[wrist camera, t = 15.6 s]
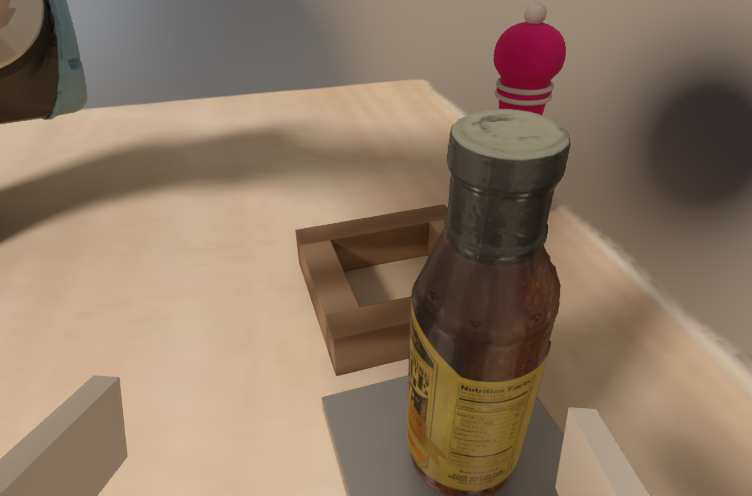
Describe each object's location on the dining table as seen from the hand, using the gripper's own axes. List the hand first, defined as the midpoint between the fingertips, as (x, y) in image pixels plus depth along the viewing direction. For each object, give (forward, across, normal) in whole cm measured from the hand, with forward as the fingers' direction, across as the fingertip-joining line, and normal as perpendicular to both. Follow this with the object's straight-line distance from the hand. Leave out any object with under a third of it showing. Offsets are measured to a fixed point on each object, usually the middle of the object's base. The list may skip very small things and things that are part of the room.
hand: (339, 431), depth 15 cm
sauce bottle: (+12, +6, -10) cm, 17 cm away
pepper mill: (+40, +13, -2) cm, 42 cm away
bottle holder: (+28, +2, -6) cm, 28 cm away
